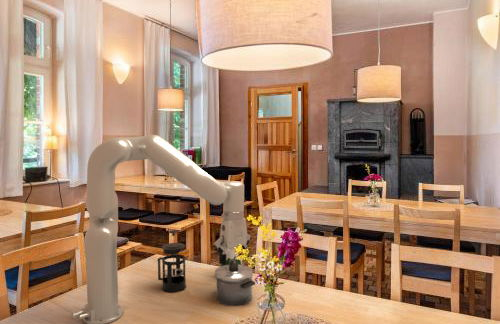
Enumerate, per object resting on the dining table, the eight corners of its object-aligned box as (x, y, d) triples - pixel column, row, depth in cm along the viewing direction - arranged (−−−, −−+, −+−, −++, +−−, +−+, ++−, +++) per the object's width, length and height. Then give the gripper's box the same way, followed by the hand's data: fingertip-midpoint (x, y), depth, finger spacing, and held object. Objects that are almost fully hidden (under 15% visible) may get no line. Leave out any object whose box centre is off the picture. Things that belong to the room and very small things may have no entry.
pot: (236, 311, 122) (236, 286, 121) (205, 296, 134) (205, 273, 133) (263, 299, 132) (263, 275, 131) (232, 285, 144) (232, 263, 143)
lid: (232, 285, 122) (232, 270, 122) (206, 274, 132) (206, 260, 132) (260, 274, 132) (260, 260, 132) (235, 264, 142) (234, 251, 142)
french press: (191, 283, 146) (190, 228, 144) (182, 293, 136) (181, 234, 135) (164, 281, 148) (163, 227, 146) (153, 291, 138) (152, 233, 137)
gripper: (222, 220, 122) (221, 269, 123) (257, 213, 134) (256, 258, 135) (208, 216, 127) (207, 264, 128) (243, 210, 139) (242, 253, 140)
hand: (232, 261), depth 132 cm, fingers open, 9 cm apart
